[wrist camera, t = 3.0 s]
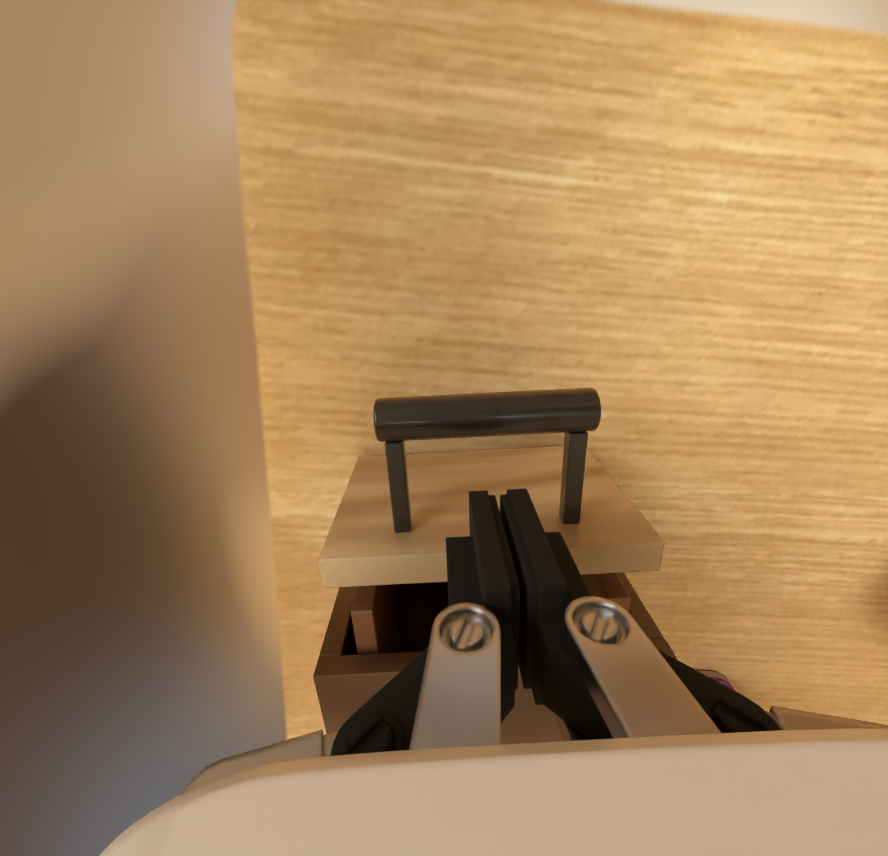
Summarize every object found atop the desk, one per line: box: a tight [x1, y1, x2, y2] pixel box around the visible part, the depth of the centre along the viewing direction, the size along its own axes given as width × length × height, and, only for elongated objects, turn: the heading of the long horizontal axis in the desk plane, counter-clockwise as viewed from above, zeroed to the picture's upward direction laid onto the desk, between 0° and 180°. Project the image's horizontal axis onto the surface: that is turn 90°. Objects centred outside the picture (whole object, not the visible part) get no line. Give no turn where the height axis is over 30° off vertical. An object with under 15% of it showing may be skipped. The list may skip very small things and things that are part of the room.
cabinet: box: [313, 572, 676, 745], centre depth 21 cm, size 15×13×10 cm
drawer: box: [318, 388, 664, 655], centre depth 19 cm, size 18×11×8 cm, turn 3°
